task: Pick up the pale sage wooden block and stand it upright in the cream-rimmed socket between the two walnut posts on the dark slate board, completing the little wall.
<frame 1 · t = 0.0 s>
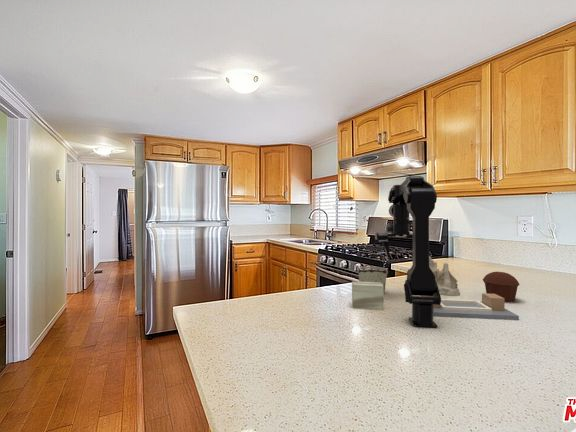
hand: (400, 259, 120), 15 cm above the countertop, tool pointing down, fingers open, 9 cm apart
food container: (371, 292, 129), on the countertop
sage block: (367, 306, 109), on the countertop
muffin: (500, 299, 119), on the countertop
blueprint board: (461, 310, 105), on the countertop
sandcastle: (438, 291, 131), on the countertop
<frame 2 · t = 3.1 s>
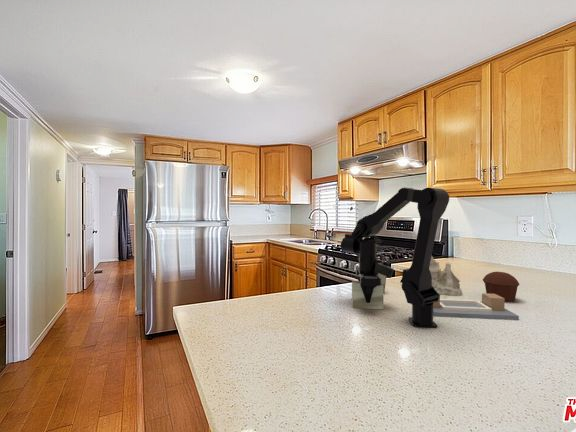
hand: (367, 300, 109), 2 cm above the countertop, tool pointing down, fingers closed on sage block, 5 cm apart
sage block: (367, 306, 109), on the countertop, touching gripper
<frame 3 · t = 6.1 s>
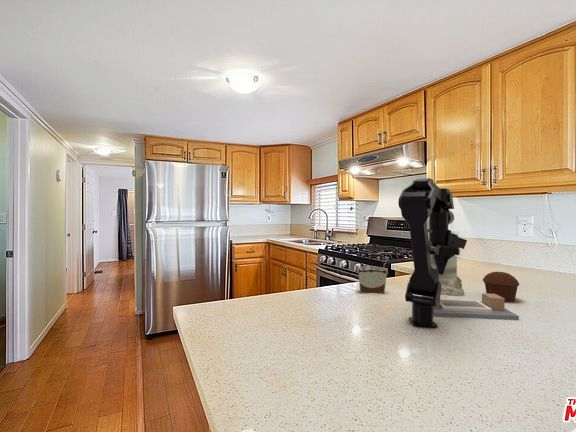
hand: (438, 272, 106), 12 cm above the countertop, tool pointing down, fingers closed on sage block, 5 cm apart
sage block: (437, 278, 106), point 10 cm above the countertop, touching gripper
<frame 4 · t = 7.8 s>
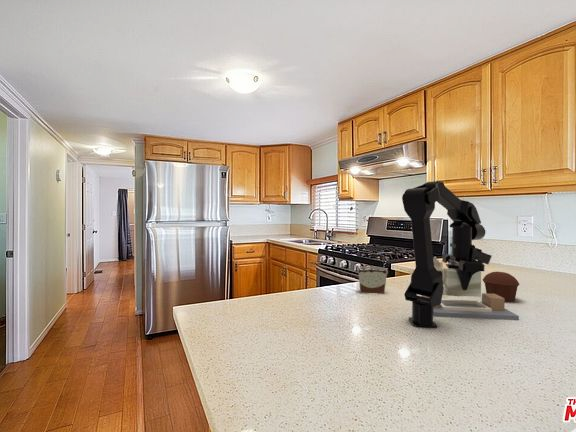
hand: (461, 288, 105), 7 cm above the countertop, tool pointing down, fingers closed on sage block, 5 cm apart
sage block: (461, 294, 105), point 5 cm above the countertop, touching gripper
when the fingers open (4 cm above the countertop, at t = 9.3 s): sage block drops 1 cm, resting on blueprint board.
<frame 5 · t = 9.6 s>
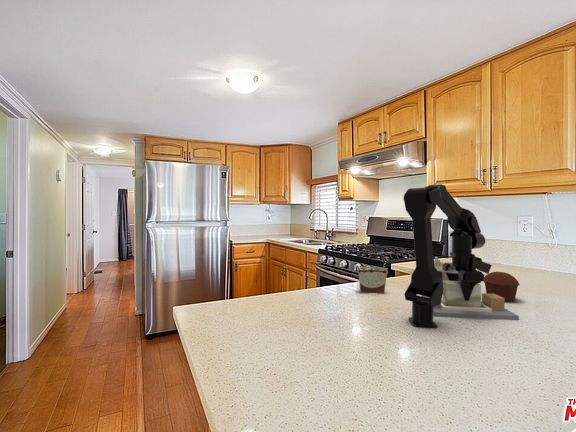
hand: (461, 297, 105), 4 cm above the countertop, tool pointing down, fingers open, 8 cm apart
sage block: (461, 306, 105), point 1 cm above the countertop, touching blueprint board
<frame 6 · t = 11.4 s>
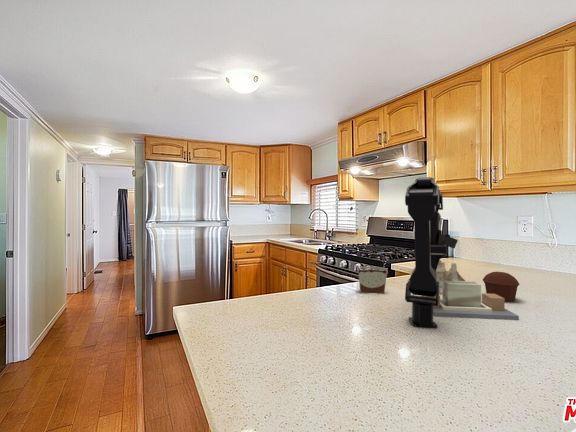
hand: (429, 271, 110), 12 cm above the countertop, tool pointing down, fingers open, 9 cm apart
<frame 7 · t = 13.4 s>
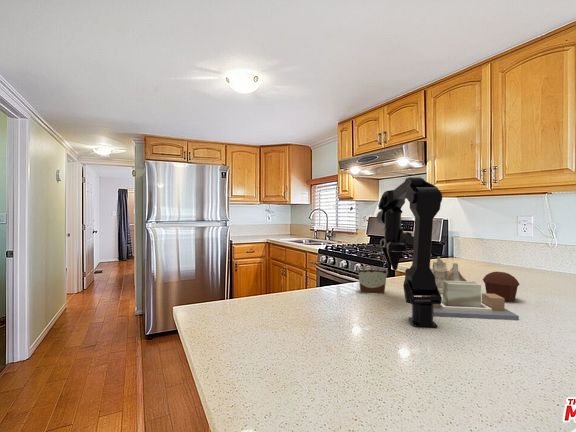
hand: (392, 267, 116), 12 cm above the countertop, tool pointing down, fingers open, 9 cm apart
at the end: sage block 0.1 cm off-centre on the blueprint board, point 1.2 cm above the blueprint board's base; sage block tilted 0°; the gripper is holding nothing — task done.
